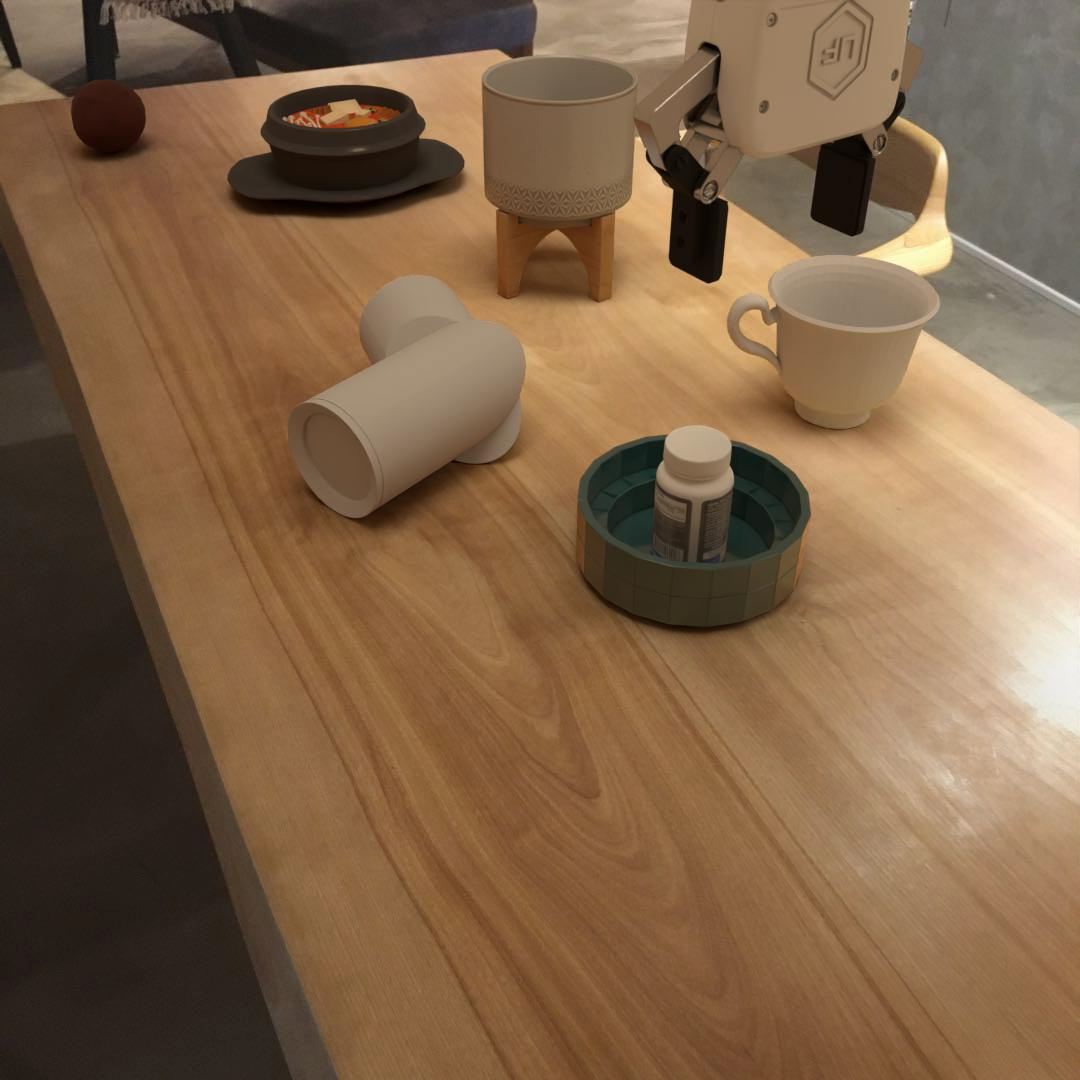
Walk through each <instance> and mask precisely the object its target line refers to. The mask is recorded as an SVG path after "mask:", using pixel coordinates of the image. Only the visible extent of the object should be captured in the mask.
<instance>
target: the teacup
mask: <svg viewBox="0 0 1080 1080" xmlns="http://www.w3.org/2000/svg"><path fill="white" fill-rule="evenodd" d="M767 291H768V294H769V297H770V298H771V299H772V301H773V303H774V305H775V306H773V307H771V308H770V305H769V302H768V300H767V298H766V297H765V296H763V295H762V294H759V293H746V294H743V295H741V296H739V297H738V298H736V299H735V300H734V302H733V303H732V305H730V308H729V311H728V312H727V313H728V314H727V317H726V329H727V334H728V336H729V338H730V340H731V341H732V343H733V344H734V345H735V347H737V348H738V349H739V350H740V351H742V352H744V353H746V354H748V355H751V356H755V357H758V358H762V359H764V360H766V361H768V362H769V363H770V364H771V365H772V367H774V369H775V370H776V372H777V374H778V378H779V380H780V383H781V385H782V386H783V388H784V389H785V391H786V392H787V394H788V395H789V396H791V397H792V398H793V399H794V403H793V405H794V410H795V411H796V414H798V416H799V417H800V418H802V419H803V420H805V421H806V422H808V423H810V424H812V425H815V426H818V427H821V428H826V429H833V430H834V429H835V430H845V429H851V428H856V427H858V426H861V425H864V423H866V422H867V421H868V420H869V418H870V417H871V414H872V412H871V411H872V410H876V409H878V408H879V407H882V406H883V405H884V404H886V403H887V402H889V401H890V399H891V398H893V396H894V395H895V394H896V393H897V391H898V389H899V388H900V386H901V384H902V382H903V379H904V377H905V376H906V373H907V371H908V368H909V365H910V362H911V359H912V356H913V354H914V351H915V348H916V345H917V342H918V340H919V337H920V335H921V333H922V331H923V328H924V326H925V324H926V323H927V322H928V321H929V320H931V319H932V318H933V317H934V316H935V315H936V314H937V313H938V311H939V310H940V306H941V300H940V297H939V294H938V292H937V290H935V288H934V286H933V285H931V283H930V282H929V281H928V280H927V279H925V278H924V277H923V276H922V275H920V274H918V273H916V272H915V271H913V270H911V269H909V268H907V267H904V266H902V265H899V264H897V263H892V262H890V261H885V260H882V259H877V258H873V257H866V256H858V255H849V254H848V255H847V254H827V255H826V254H825V255H815V256H810V257H805V258H801V259H798V260H795V261H792V262H790V263H787V264H785V265H783V266H782V267H780V268H779V269H778V270H776V271H775V272H774V273H773V274H772V275H771V277H770V278H769V280H768V282H767ZM753 310H754V311H755V310H756V311H760V313H761V319H762V321H763V323H764V325H765V326H768V327H770V326H772V325H773V324H776V341H775V342H776V343H775V345H776V348H775V349H776V351H775V353H774V351H773V350H771V348H769V347H768V346H767V345H765V344H763V343H760V342H759V341H755V340H753V339H750V338H748V337H747V336H746V335H745V334H744V333H743V332H742V331H741V329H740V321H741V319H742V318H743V316H744V315H745V314H746V313H748V312H749V311H753Z"/></svg>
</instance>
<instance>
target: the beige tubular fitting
mask: <svg viewBox="0 0 1080 1080" xmlns="http://www.w3.org/2000/svg"><path fill="white" fill-rule="evenodd" d="M358 327H359V328H358V330H359V331H358V334H359V340H360V344H361V346H362V349H363V351H364V353H365V355H366V356H367V358H368V360H369V362H370V364H371V365H370V366H368V367H366V368H364V369H362V370H361V371H359V372H357V373H355V374H354V375H351V376H349V377H348V378H345V379H344V380H342V381H340V382H339V383H336V384H334V385H332V386H331V387H329V388H327V389H326V390H324V391H322V392H320V393H318V394H316V395H314V396H312V397H310V398H308V399H307V400H304V401H303V402H301V403H300V404H297V405H296V406H295V407H294V408H293V409H292V410H291V412H290V414H289V417H288V420H287V421H288V422H287V439H288V444H289V448H290V453H291V456H292V458H293V460H294V463H295V465H296V468H297V469H298V471H299V473H300V474H301V476H302V478H303V480H304V481H305V483H306V485H307V486H308V487H309V488H310V490H311V491H312V492H313V493H314V495H315V496H316V497H317V498H318V499H319V500H320V501H321V502H322V503H324V505H326V506H327V507H328V508H330V509H331V510H332V511H334V512H336V513H338V514H339V515H341V516H344V517H347V518H349V519H351V518H352V519H360V518H363V517H366V516H368V515H369V514H371V513H372V512H374V511H375V510H377V509H379V508H380V507H382V506H384V505H385V504H386V503H388V502H390V501H391V500H393V499H394V498H396V497H397V496H399V495H401V494H402V493H403V492H406V491H407V490H409V488H412V487H413V486H414V485H416V484H418V483H420V482H421V481H422V480H424V479H425V478H427V477H428V476H430V475H431V474H433V473H435V472H436V471H438V470H439V469H441V468H443V467H445V466H446V465H447V464H449V463H450V462H452V461H456V462H460V463H464V464H471V465H472V464H473V465H477V464H485V463H489V462H494V461H495V460H497V459H499V458H501V457H502V456H504V455H505V454H506V453H507V452H508V451H509V450H510V449H511V448H512V446H513V444H515V442H516V440H517V438H518V435H519V432H520V429H521V425H522V417H523V416H522V402H521V396H520V394H521V392H522V389H523V387H524V383H525V378H526V369H527V362H526V361H527V360H526V355H525V351H524V348H523V345H522V343H521V341H520V340H519V338H518V337H517V335H516V334H515V333H514V332H513V331H512V330H511V329H509V328H508V327H506V326H505V325H503V324H501V323H499V322H496V321H492V320H489V319H475V318H474V317H473V315H472V314H471V312H470V311H469V309H467V307H466V306H465V304H464V303H463V301H462V300H461V299H460V298H459V296H458V295H457V293H456V292H455V291H454V290H453V288H452V287H451V286H449V284H447V283H445V282H444V281H442V280H441V279H439V278H437V277H433V276H430V275H426V274H410V275H404V276H400V277H397V278H395V279H393V280H390V281H389V282H387V283H386V284H383V286H381V287H379V288H378V290H376V291H375V292H374V293H373V295H371V297H369V299H368V300H367V303H366V304H365V306H364V308H363V310H362V312H361V316H360V319H359V326H358Z"/></svg>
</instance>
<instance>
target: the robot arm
mask: <svg viewBox="0 0 1080 1080" xmlns="http://www.w3.org/2000/svg"><path fill="white" fill-rule="evenodd" d="M910 8H911V0H691V1H690V8H689V15H688V23H687V30H686V31H687V32H686V37H685V38H686V39H685V46H684V55H683V56H684V58H683V64H682V65H680V66H679V67H678V68H677V69H675V71H674V72H672V73H671V74H670V75H669V76H668V77H666V79H664V80H663V81H662V82H661V83H660V84H659V85H657V86H656V88H654V89H653V90H652V91H651V92H650V93H648V94H647V95H646V96H645V97H644V98H643V99H642V100H640V101H639V102H637V105H636V107H635V109H634V112H633V119H634V122H635V129H636V130H637V132H638V135H639V138H640V140H641V143H642V145H643V148H644V149H645V158H646V159H645V160H646V161H647V163H648V164H649V165H650V167H651V168H652V169H653V170H654V171H655V172H656V173H657V174H658V175H659V176H660V177H661V182H662V184H663V186H665V187H667V188H669V189H671V190H672V201H671V215H670V228H669V244H668V245H669V246H668V261H669V263H670V264H671V266H673V267H674V268H676V269H678V270H680V271H682V272H684V273H686V274H687V275H690V276H691V277H692V278H695V279H697V280H699V281H701V282H703V283H705V284H709V285H710V284H713V283H716V282H719V280H720V279H721V277H722V275H723V269H724V258H725V249H726V238H727V237H726V236H727V229H728V219H729V201H728V200H725V199H724V198H721V197H719V196H720V195H721V193H722V191H723V189H724V188H725V186H726V185H727V183H728V181H729V180H730V178H731V177H732V175H733V173H734V172H735V170H736V168H737V167H738V165H739V164H740V161H741V160H742V159H743V157H744V156H746V157H749V158H753V159H759V160H760V159H769V158H775V157H778V156H782V155H786V154H791V153H795V152H798V151H801V150H802V151H803V150H804V149H810V148H812V147H816V146H817V147H818V146H820V148H819V152H818V155H817V156H818V158H817V163H816V164H817V165H816V170H815V176H814V177H815V178H814V184H813V191H812V199H811V205H810V211H809V212H810V218H811V219H812V221H814V222H815V223H819V224H820V225H822V226H825V227H828V228H830V229H831V230H835V231H837V232H839V233H841V234H844V235H846V236H849V237H855V236H858V235H861V234H863V232H864V230H865V226H866V219H867V213H868V207H869V201H870V195H871V191H872V184H873V180H874V179H873V178H874V172H875V168H876V167H875V166H876V162H877V161H876V160H877V158H875V157H879V156H881V155H882V154H883V153H884V152H885V150H886V149H887V146H888V144H889V134H888V131H889V130H890V128H891V127H892V125H893V124H894V123H895V122H896V120H897V118H898V117H899V116H900V115H901V113H902V112H903V110H904V108H905V106H906V101H907V100H906V93H908V92H909V91H910V88H911V86H912V84H913V81H914V80H915V77H916V76H917V73H918V71H919V69H920V67H921V65H922V62H923V59H924V51H923V49H922V48H921V47H919V46H917V45H916V44H914V43H913V42H912V41H910V40H908V38H907V37H908V30H909V29H908V27H909V19H910V11H911V9H910ZM681 121H682V122H683V126H684V128H685V129H686V132H684V135H683V136H681V134H680V133H681V132H680V123H681ZM709 145H710V146H713V147H715V148H716V149H715V150H714V152H713V153H712V155H711V157H710V158H709V160H708V162H707V163H706V164H705V166H704V167H703V166H702V165H701V164H700V160H701V159H702V157H703V155H705V152H706V151H707V149H708V148H709ZM873 156H875V157H873Z"/></svg>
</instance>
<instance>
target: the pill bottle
mask: <svg viewBox="0 0 1080 1080" xmlns="http://www.w3.org/2000/svg"><path fill="white" fill-rule="evenodd" d="M668 434H669V435H668V436H667V437H666V439H665V445H664V453H663V461H662V462H661V463H660V465H659V467H658V469H657V473H656V484H655V498H654V514H653V531H652V552H653V555H654V556H658V557H661V558H665V559H669V560H673V561H682V562H697V563H720V562H722V561H723V559H724V557H725V553H726V545H727V537H728V528H729V520H730V512H731V503H732V495H733V487H734V474H733V471H732V469H731V467H730V466H729V465H730V460H731V447H732V446H731V441H730V440H731V439H730V437H729V436H728V435H726V433H724V432H723V431H721V430H720V429H717V428H715V427H711V426H706V425H699V424H694V425H693V424H691V425H685V426H680V427H678V428H675V429H673V430H672V431H670V432H669V433H668Z"/></svg>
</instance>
